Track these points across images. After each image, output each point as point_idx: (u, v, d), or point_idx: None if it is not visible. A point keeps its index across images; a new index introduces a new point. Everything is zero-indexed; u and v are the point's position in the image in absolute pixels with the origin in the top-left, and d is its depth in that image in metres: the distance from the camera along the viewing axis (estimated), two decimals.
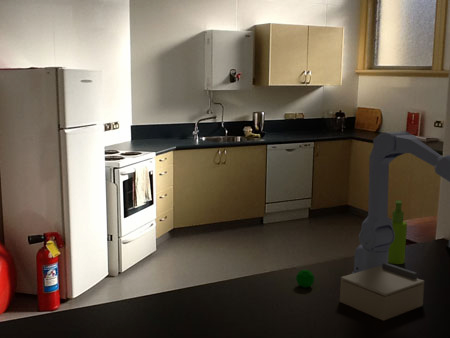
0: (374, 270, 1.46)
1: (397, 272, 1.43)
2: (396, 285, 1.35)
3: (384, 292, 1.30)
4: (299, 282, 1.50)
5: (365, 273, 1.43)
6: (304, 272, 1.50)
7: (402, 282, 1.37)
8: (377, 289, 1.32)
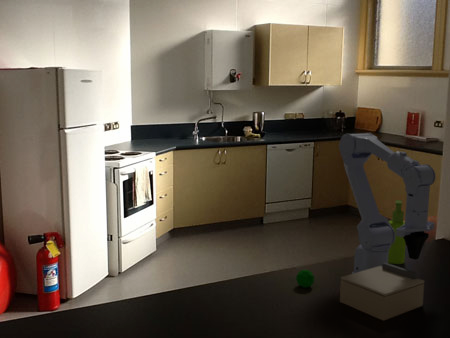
0: (374, 270, 1.46)
1: (397, 272, 1.43)
2: (396, 285, 1.35)
3: (384, 292, 1.30)
4: (299, 282, 1.50)
5: (365, 273, 1.43)
6: (304, 272, 1.50)
7: (402, 282, 1.37)
8: (377, 289, 1.32)
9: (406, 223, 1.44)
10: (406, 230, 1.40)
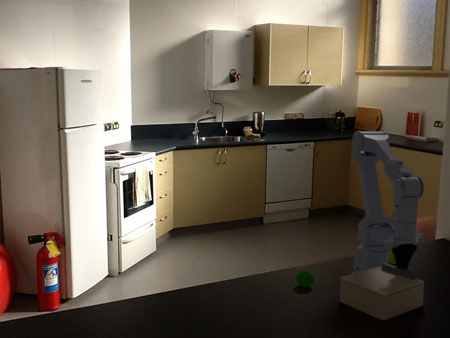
0: (373, 270, 1.45)
1: (396, 272, 1.42)
2: (395, 285, 1.34)
3: (383, 292, 1.29)
4: (299, 282, 1.50)
5: (364, 273, 1.43)
6: (304, 272, 1.50)
7: (401, 282, 1.36)
8: (376, 289, 1.31)
9: (394, 235, 1.42)
10: (394, 242, 1.38)
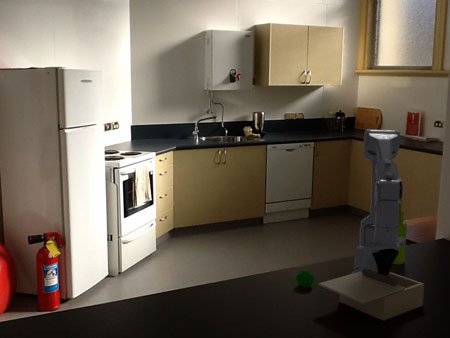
0: (353, 276, 1.41)
1: (377, 278, 1.38)
2: (375, 292, 1.30)
3: (362, 300, 1.25)
4: (299, 282, 1.50)
5: (344, 279, 1.38)
6: (304, 272, 1.50)
7: (381, 289, 1.32)
8: (355, 296, 1.27)
9: (375, 240, 1.37)
10: (374, 247, 1.33)
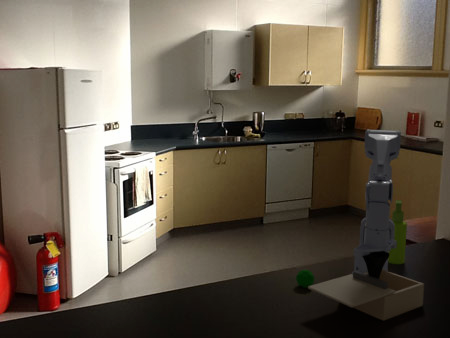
0: (344, 278, 1.39)
1: (368, 281, 1.36)
2: (365, 295, 1.28)
3: (351, 303, 1.23)
4: (299, 282, 1.50)
5: (334, 282, 1.36)
6: (304, 272, 1.50)
7: (372, 292, 1.29)
8: (344, 300, 1.25)
9: (365, 242, 1.35)
10: (364, 250, 1.31)
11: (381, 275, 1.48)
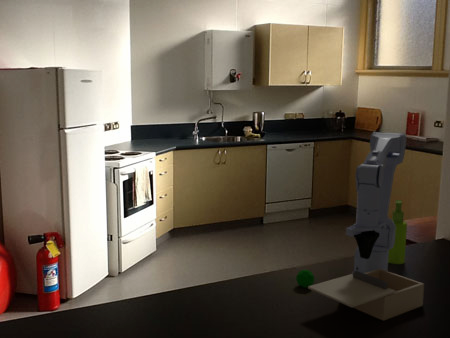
0: (344, 278, 1.39)
1: (368, 281, 1.36)
2: (365, 295, 1.28)
3: (351, 303, 1.23)
4: (299, 282, 1.50)
5: (334, 282, 1.36)
6: (304, 272, 1.50)
7: (372, 292, 1.29)
8: (344, 300, 1.25)
9: (357, 222, 1.43)
10: (356, 229, 1.39)
11: (381, 275, 1.48)
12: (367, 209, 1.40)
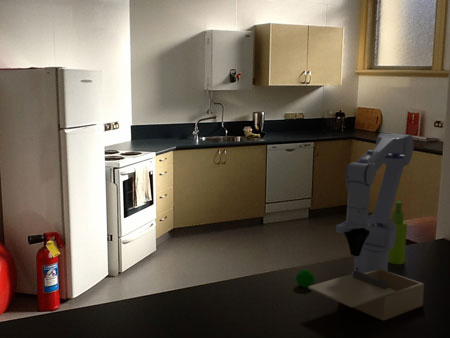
0: (344, 278, 1.39)
1: (368, 281, 1.36)
2: (365, 295, 1.28)
3: (351, 303, 1.23)
4: (299, 282, 1.50)
5: (334, 282, 1.36)
6: (304, 272, 1.50)
7: (372, 292, 1.29)
8: (344, 300, 1.25)
9: (347, 220, 1.45)
10: (345, 227, 1.41)
11: (381, 275, 1.48)
12: (355, 206, 1.42)
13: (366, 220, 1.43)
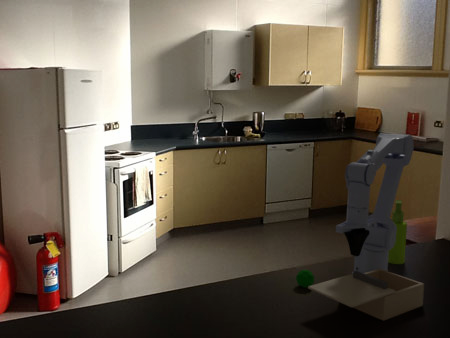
0: (344, 278, 1.39)
1: (368, 281, 1.36)
2: (365, 295, 1.28)
3: (351, 303, 1.23)
4: (299, 282, 1.50)
5: (334, 282, 1.36)
6: (304, 272, 1.50)
7: (372, 292, 1.29)
8: (344, 300, 1.25)
9: (347, 220, 1.45)
10: (345, 227, 1.41)
11: (381, 275, 1.48)
12: (355, 206, 1.42)
13: (366, 220, 1.43)
